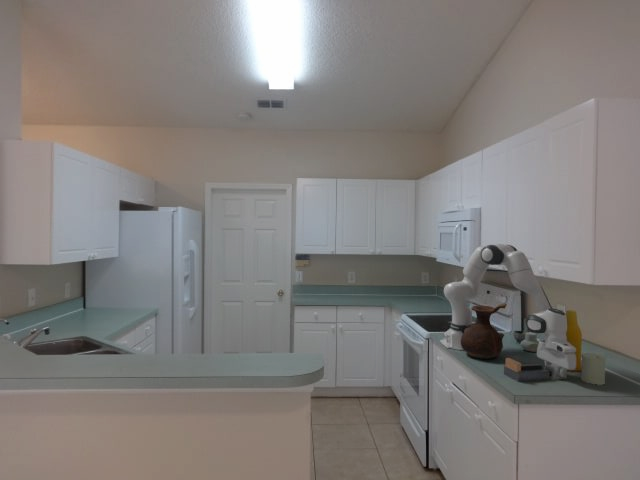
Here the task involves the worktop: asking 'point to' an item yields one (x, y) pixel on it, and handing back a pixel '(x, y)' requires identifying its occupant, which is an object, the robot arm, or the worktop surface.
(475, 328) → the jug
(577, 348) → the beer bottle
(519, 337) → the mortar and pestle
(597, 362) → the can
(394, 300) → the worktop surface
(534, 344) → the air freshener
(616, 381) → the worktop surface
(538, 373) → the base
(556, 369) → the notched grey block
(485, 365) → the worktop surface
